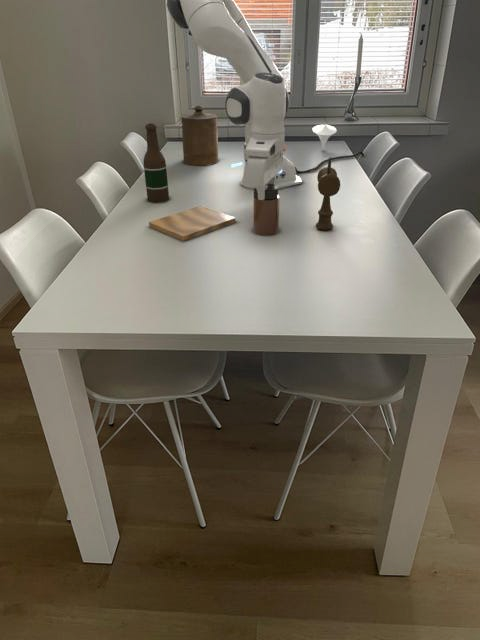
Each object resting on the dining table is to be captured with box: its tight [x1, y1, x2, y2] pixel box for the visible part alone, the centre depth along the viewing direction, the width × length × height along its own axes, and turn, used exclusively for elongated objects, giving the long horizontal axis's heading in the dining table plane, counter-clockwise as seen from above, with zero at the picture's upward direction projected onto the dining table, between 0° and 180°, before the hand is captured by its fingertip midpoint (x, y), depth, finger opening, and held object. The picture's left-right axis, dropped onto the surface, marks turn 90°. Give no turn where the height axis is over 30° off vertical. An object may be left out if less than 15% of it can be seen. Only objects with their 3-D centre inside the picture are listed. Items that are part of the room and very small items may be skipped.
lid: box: [253, 183, 279, 199], centre depth 134 cm, size 7×7×2 cm
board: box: [148, 205, 237, 242], centre depth 145 cm, size 20×16×2 cm
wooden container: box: [181, 105, 219, 166], centre depth 204 cm, size 15×15×22 cm
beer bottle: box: [143, 123, 170, 203], centre depth 160 cm, size 8×8×24 cm
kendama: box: [315, 157, 341, 231], centre depth 136 cm, size 6×10×20 cm, turn 175°
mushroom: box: [311, 123, 338, 152], centre depth 220 cm, size 10×11×12 cm
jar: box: [252, 194, 280, 236], centre depth 137 cm, size 7×7×12 cm
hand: (266, 195), depth 135 cm, fingers closed on lid, 6 cm apart
